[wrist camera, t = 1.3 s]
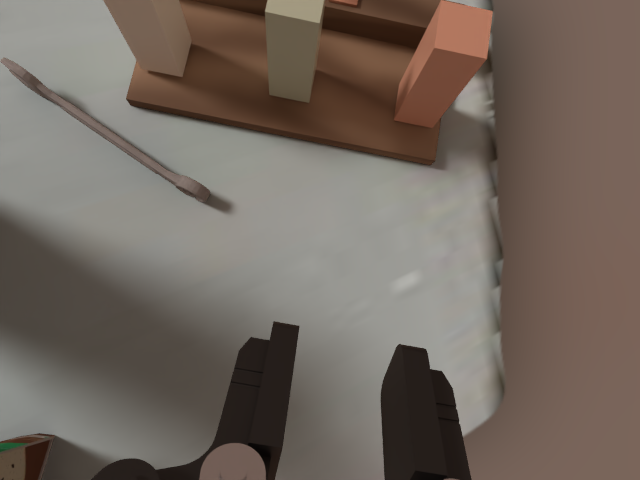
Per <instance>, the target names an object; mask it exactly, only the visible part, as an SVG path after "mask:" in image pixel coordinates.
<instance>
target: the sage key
mask: <svg viewBox="0 0 640 480" xmlns="http://www.w3.org/2000/svg"><path fill="white" fill-rule="evenodd" d="M324 7H325V0H267V5H266V9H265V21H266V41H267V60H268V80H269V95H272V96H277V97H282V98H287V99H292V100H297V101H302V102H307V103H309V101H310V96H311V91H312V86H313V81H314V76H315V70H316V65H317V58H318V50H319V43H320V36H321V29H322V22H323V15H324Z"/></svg>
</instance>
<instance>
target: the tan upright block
mask: <svg viewBox="0 0 640 480" xmlns="http://www.w3.org/2000/svg"><path fill="white" fill-rule="evenodd" d="M104 2H105V4H106V6H107V7H108V9H109V11H110V13H111V15H112V16H113V18H114V20H115V22H116V24H117V25H118V27H119V29H120V31H121V33H122V34H123V36H124V38H125V40H126V42H127V44H128V45H129V47H130V49H131V51H132V53H133V54H134V56H135V58H136V60H137V62H138V63H139V65H140V67H141V69H145V70H150V71H155V72H159V73H164V74H169V75H174V76H179V77H183V73H184V69H185V65H186V61H187V57H188V54H189V50H190V46H191V42H192V40H191V37H190V34H189V31H188V27H187V24H186V21H185V18H184V15H183V12H182V9H181V5H180V2H179V0H104Z"/></svg>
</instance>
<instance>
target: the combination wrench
mask: <svg viewBox="0 0 640 480" xmlns="http://www.w3.org/2000/svg"><path fill="white" fill-rule="evenodd" d="M1 63H3V64H4V65H5V66H6V67H7V68H8V69H10V70H9V71H10V72H11V73H12V74H13V75H14V76H15V77H16V78H18V79H19V80H20V81H21V82H22V83H23V84H25V85H26V86H27V87H28V88H30V89H31V90H33V91H34V92H36V93H37V94H38V95H40V96H42V97H45V98H48V99H49V100H51V101H52V102H54V103H56V104H57V105H59V106H60V107H62V109H63V110H64V111H66V112H67V113H68V114H70V115H71V116H73V117H74V118H76V119H77V120H79V121H80V122H82V123H83V124H84V125H86V126H87V127H89V128H90V129H92V130H93V131H95V132H96V133H98V134H99V135H101V136H102V137H103V138H105V139H106V140H108V141H109V142H111V143H112V144H114V145H115V146H117V147H118V148H120V149H121V150H122V151H124V152H125V153H127V154H128V155H130V156H131V157H133V158H134V159H136V160H137V161H138V162H140V163H141V164H143V165H144V166H146V167H147V168H149V169H150V170H152V171H153V172H155V173H156V174H159V175H160V176H162V177H163V178H165V179H166V180H168V181H169V182H171V183H172V184H174V185H175V186H176V188H178V189H179V190H180V191H181V192H183V193H185V194H186V195H189V196H192V197H196V200H198V201H200V202H206V200H207V199H208V197H209V195H210V191H209V190H208V189H207V188H206V187H205V186H203V185H202V184H200V183H198V182H197V181H195V180H193V179H191V178H189V177H187V176H183V175H181V176H180V175H177V174H175V173H172V172H170V171H168V170H166V169H165V168H163V167H162V166H161V165H160V164H159V163H157V162H156V161H154V160H153V159H151V158H150V157H148V156H147V155H146V154H144V153H143V152H141V151H140V150H138V149H137V148H135V147H134V146H132V145H131V144H129V143H128V142H127V141H125V140H124V139H122V138H121V137H119V136H118V135H116V134H115V133H113V132H112V131H110V130H109V129H108V128H106V127H105V126H103V125H102V124H100V123H99V122H97V121H96V120H94V119H93V118H92V117H90V116H89V115H87V114H86V113H84V112H83V111H81V110H80V109H78V108H77V107H75V106H74V105H73V104H71V103H70V102H68V101H65V100H64V99H62V98H61V97H59V96H58V95H56V94H55V93H53V92H52V91H51V90H49V89H48V88H47V87H45V85H43V84H42V83H41V82H40V81H39V80H38V79H37V78H36V77H34V76H33V75H32V74H30V73H29V72H28V71H27V70H25V69H24V68H22V67H21V66H19V65H18V64H16V63H15V62H13V61H11V60H9V59H6V58H2V59H1Z"/></svg>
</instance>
